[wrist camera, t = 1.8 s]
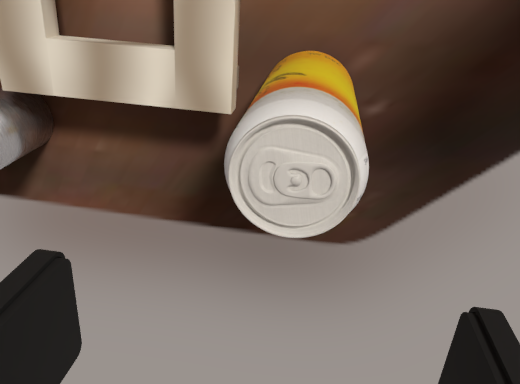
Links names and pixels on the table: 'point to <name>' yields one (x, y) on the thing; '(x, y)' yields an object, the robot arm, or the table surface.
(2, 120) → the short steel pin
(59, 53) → the birch stand
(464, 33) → the table surface
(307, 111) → the beer can
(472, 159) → the table surface
